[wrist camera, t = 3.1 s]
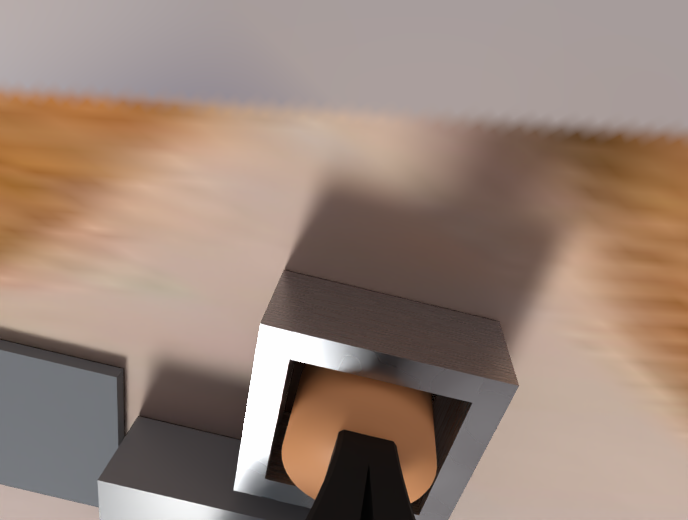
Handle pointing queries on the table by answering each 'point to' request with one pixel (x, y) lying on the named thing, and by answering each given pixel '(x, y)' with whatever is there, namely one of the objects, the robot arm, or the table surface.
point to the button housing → (376, 378)
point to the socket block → (180, 478)
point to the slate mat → (57, 422)
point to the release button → (357, 426)
